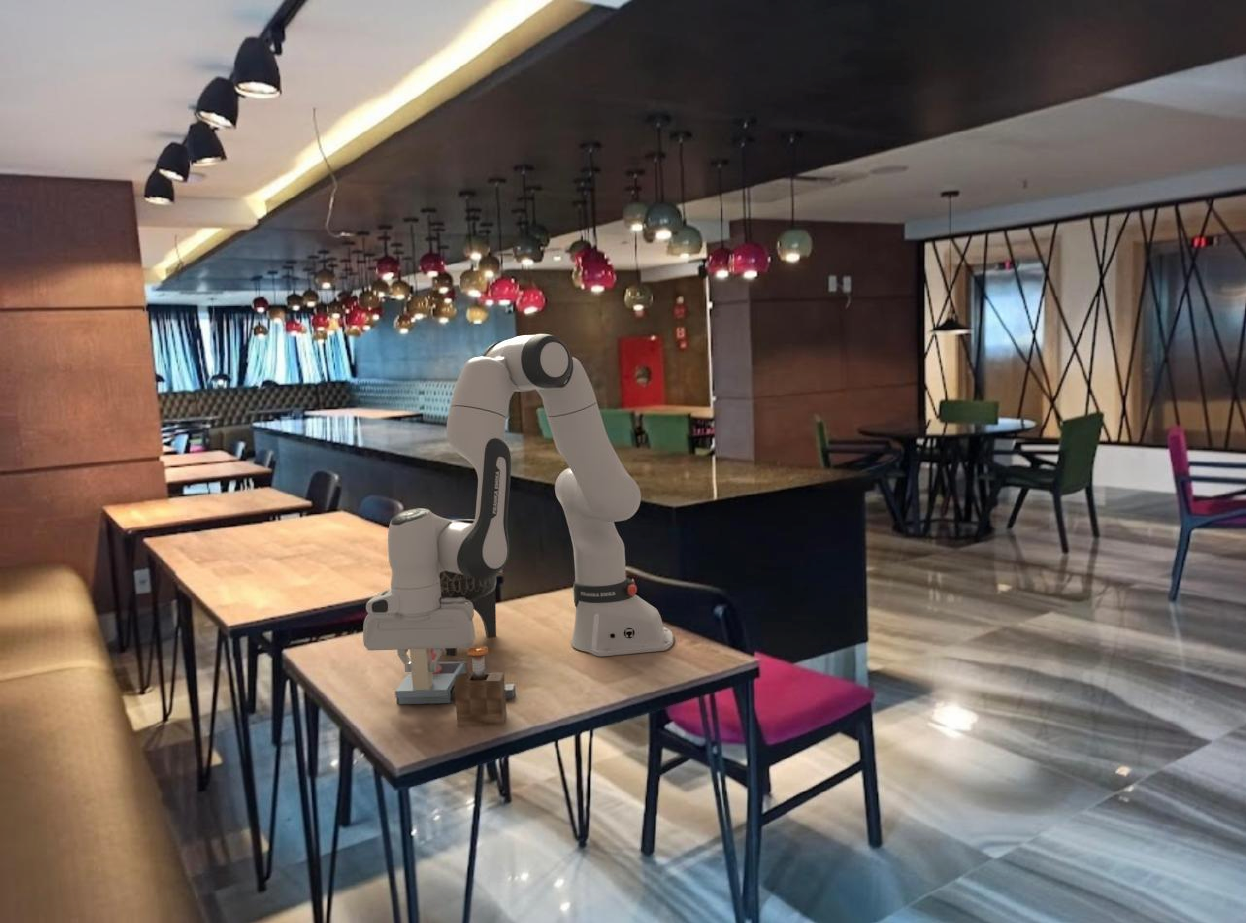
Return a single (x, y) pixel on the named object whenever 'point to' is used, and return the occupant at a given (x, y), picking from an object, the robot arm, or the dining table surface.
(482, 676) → the button
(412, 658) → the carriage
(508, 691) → the rail
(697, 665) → the dining table surface
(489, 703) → the box
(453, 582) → the planter
